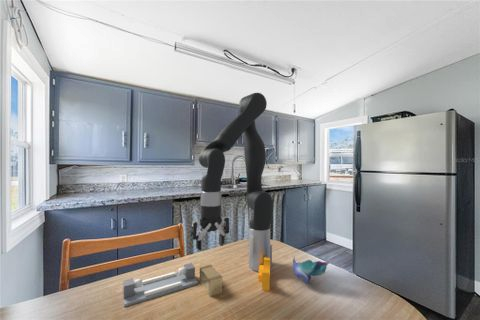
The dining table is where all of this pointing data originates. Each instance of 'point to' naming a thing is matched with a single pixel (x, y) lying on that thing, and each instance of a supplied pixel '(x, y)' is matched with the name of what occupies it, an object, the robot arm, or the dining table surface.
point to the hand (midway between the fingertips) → (210, 247)
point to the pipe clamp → (265, 274)
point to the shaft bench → (158, 285)
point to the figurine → (309, 269)
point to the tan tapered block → (210, 280)
